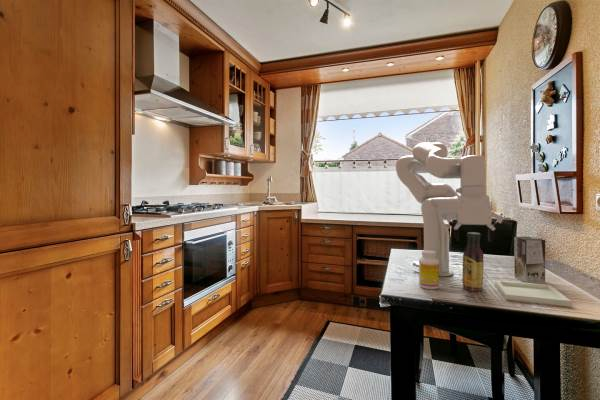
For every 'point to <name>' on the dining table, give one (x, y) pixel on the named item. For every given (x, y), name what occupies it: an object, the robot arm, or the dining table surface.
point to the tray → (531, 293)
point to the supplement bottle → (429, 270)
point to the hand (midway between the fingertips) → (473, 241)
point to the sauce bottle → (473, 263)
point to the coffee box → (529, 259)
